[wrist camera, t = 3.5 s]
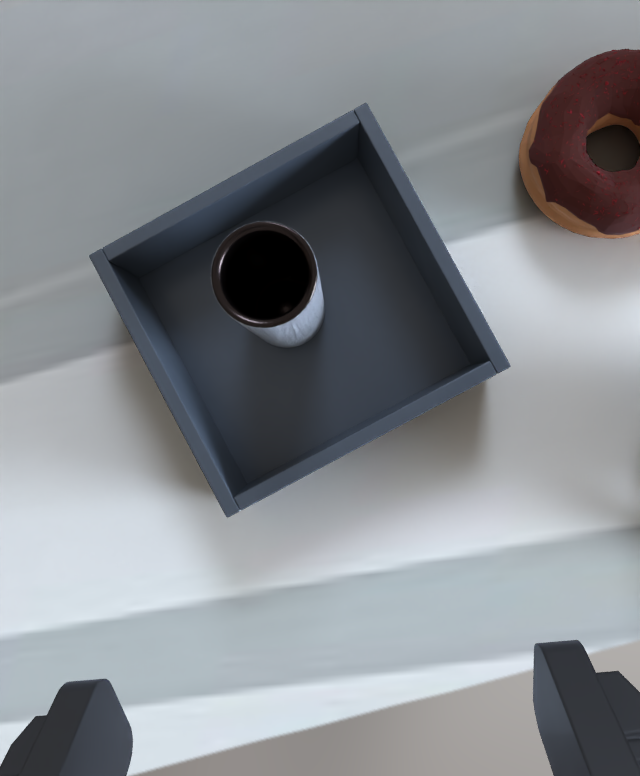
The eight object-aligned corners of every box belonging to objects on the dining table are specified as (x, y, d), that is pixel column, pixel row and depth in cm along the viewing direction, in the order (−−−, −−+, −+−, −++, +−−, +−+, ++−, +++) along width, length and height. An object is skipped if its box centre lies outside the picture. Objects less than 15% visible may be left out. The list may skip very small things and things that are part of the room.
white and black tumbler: (240, 336, 34) (196, 311, 24) (261, 263, 34) (227, 207, 24) (312, 357, 34) (300, 341, 24) (334, 284, 34) (331, 236, 24)
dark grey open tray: (363, 142, 34) (366, 101, 30) (487, 370, 34) (511, 366, 29) (123, 274, 35) (87, 255, 30) (242, 501, 34) (226, 518, 30)
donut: (543, 266, 34) (570, 249, 30) (492, 110, 34) (511, 72, 30) (709, 212, 34) (759, 187, 30) (656, 55, 34) (698, 9, 30)
